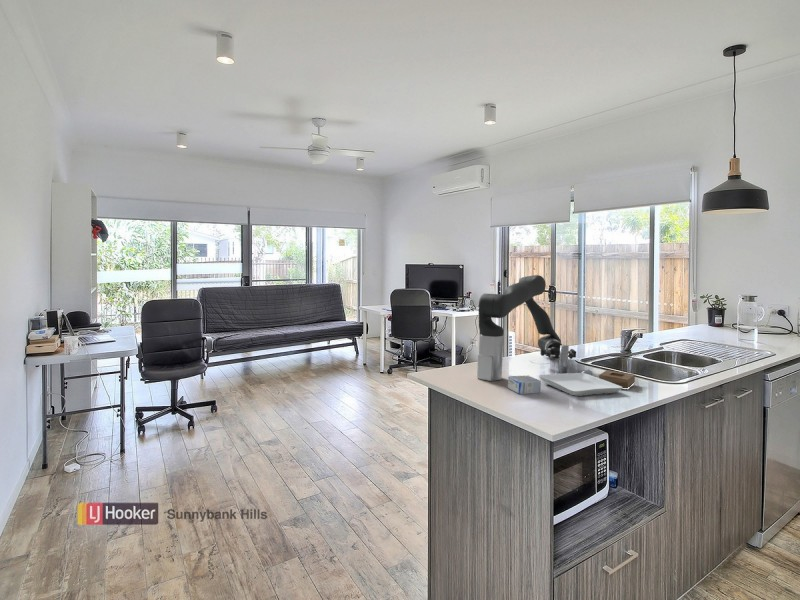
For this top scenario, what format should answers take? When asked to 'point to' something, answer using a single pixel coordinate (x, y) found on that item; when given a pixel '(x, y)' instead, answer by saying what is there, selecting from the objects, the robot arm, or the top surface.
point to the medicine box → (524, 384)
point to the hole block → (618, 378)
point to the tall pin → (563, 359)
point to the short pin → (588, 372)
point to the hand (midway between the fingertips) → (560, 355)
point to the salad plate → (580, 384)
